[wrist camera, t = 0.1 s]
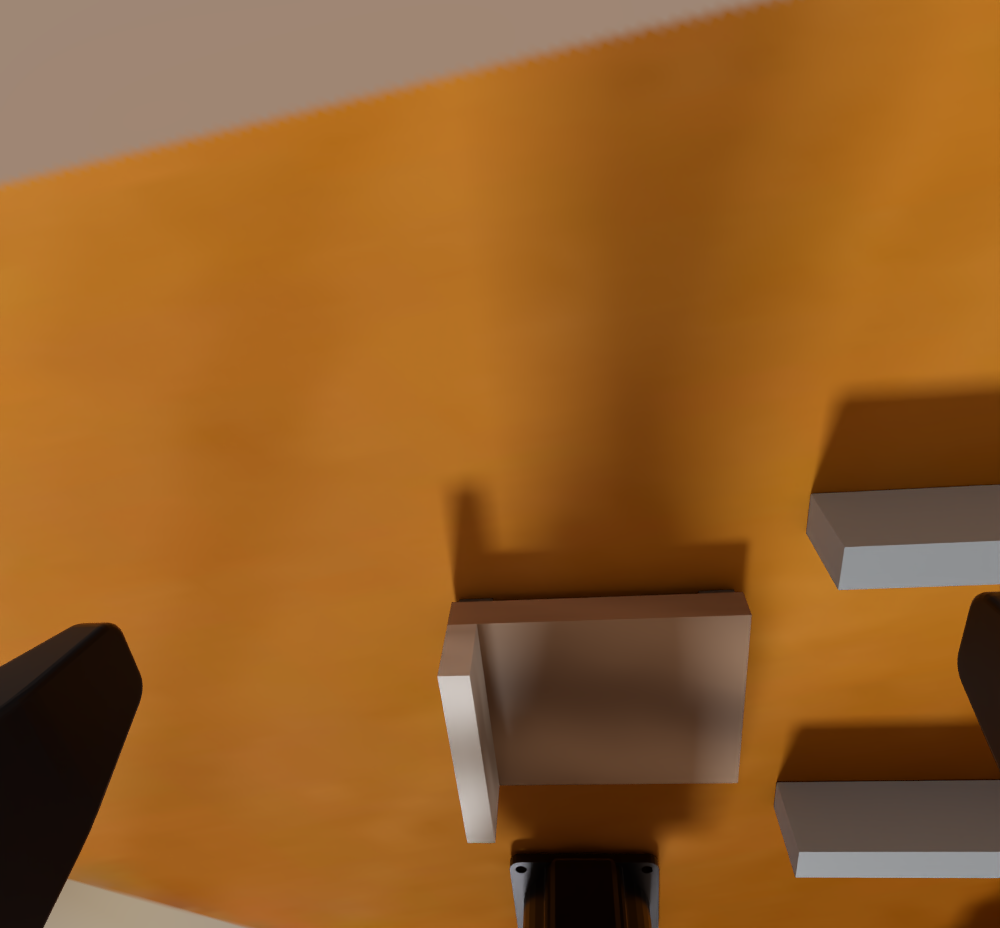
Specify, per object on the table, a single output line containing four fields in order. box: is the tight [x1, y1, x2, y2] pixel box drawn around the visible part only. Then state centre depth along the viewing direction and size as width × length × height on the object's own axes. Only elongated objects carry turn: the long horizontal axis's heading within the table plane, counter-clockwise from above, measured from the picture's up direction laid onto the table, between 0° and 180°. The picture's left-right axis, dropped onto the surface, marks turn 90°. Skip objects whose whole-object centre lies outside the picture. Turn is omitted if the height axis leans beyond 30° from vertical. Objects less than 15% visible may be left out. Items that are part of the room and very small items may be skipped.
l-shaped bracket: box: [438, 590, 752, 843], centre depth 25 cm, size 8×10×4 cm
